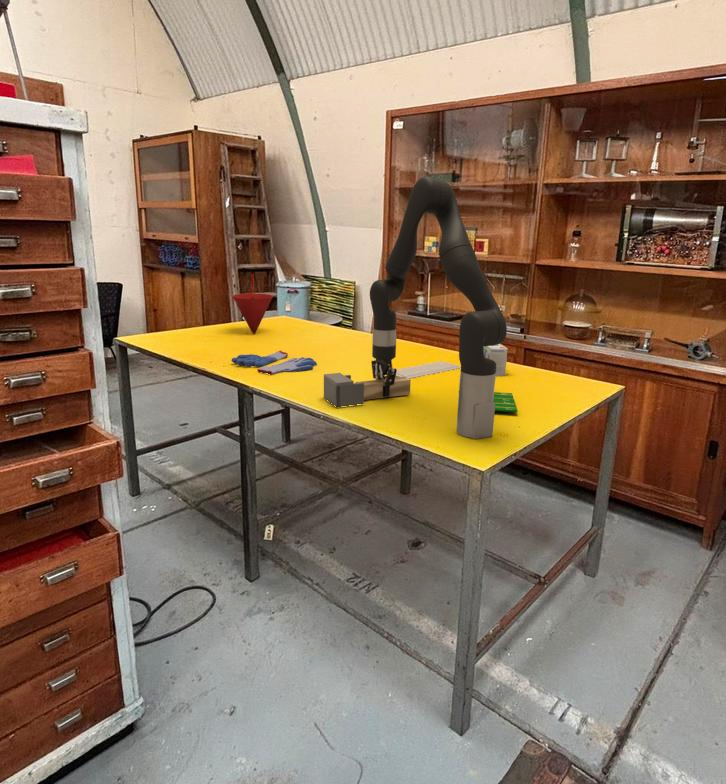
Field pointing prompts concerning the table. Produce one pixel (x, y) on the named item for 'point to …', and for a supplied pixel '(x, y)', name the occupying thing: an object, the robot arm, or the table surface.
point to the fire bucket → (252, 307)
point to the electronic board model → (504, 402)
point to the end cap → (342, 390)
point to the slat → (375, 388)
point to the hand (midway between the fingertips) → (382, 394)
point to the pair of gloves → (286, 366)
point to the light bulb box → (497, 357)
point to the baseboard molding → (425, 369)
